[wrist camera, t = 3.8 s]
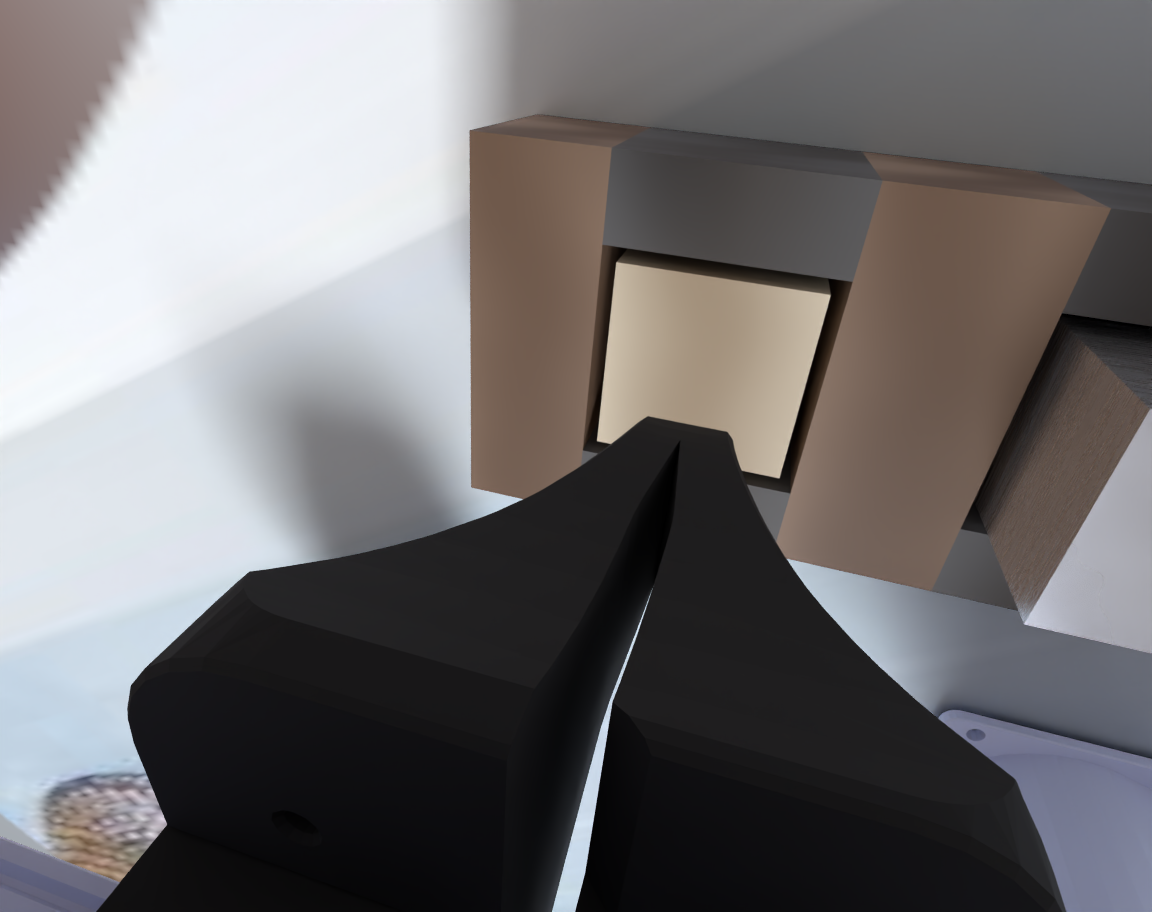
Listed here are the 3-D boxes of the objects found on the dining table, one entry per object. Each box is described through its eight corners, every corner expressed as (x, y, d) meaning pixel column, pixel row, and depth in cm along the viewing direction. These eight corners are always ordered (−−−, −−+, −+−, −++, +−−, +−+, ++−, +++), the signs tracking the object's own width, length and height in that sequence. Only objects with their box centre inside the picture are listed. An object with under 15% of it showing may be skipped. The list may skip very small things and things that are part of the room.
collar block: (1465, 220, 13) (1706, 280, 9) (1218, 555, 17) (1323, 679, 13) (537, 114, 16) (469, 130, 13) (524, 415, 20) (471, 487, 17)
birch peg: (822, 243, 16) (830, 294, 12) (781, 398, 18) (779, 478, 14) (651, 219, 16) (616, 261, 13) (631, 371, 19) (597, 441, 15)
